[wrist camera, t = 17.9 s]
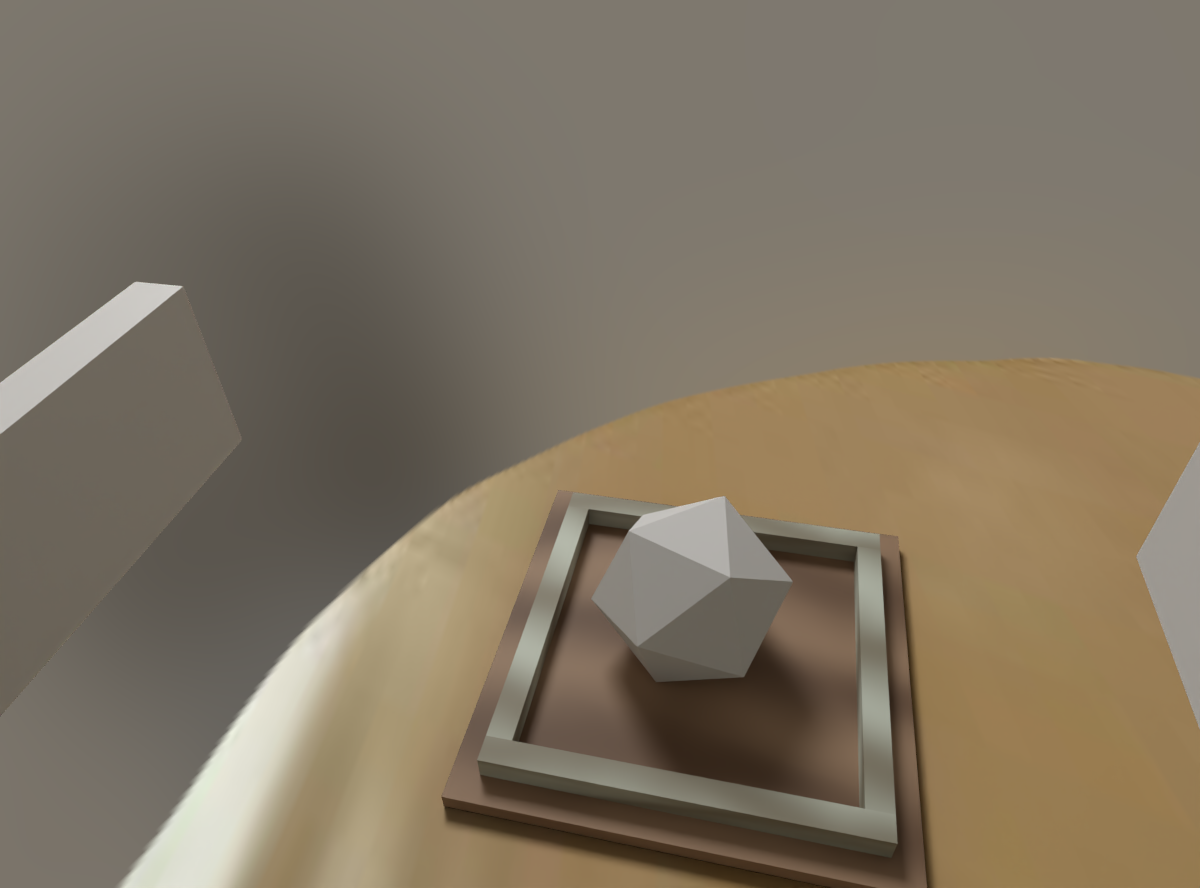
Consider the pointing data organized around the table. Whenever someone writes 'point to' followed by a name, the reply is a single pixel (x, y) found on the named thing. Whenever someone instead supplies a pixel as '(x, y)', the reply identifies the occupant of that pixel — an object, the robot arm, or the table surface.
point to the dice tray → (709, 715)
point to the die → (693, 592)
